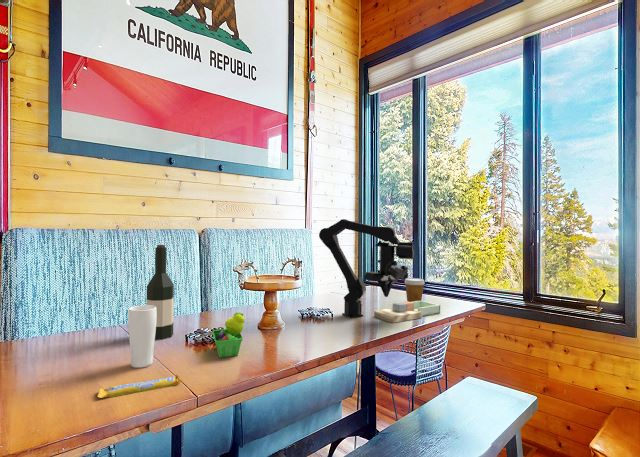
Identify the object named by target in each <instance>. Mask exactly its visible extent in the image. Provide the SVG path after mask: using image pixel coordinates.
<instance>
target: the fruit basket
mask: <svg viewBox="0 0 640 457" xmlns="http://www.w3.org/2000/svg"><path fill="white" fill-rule="evenodd" d="M245 320H246V318H245V317H244V313H242V312H241V311H238V312H235V313H234V314H233V316H231V317H230V318H228V319H226V321H225V322H224V326H225V328H222V329H214V330H212V335H213V340H214V343H215V347H216V350H217V354H218V357H219V358H227V357H235V356H239V352H240V349H241V344H242V342H243V339H244V338H243V336H242V332H243V330H244V327H245V325H244V324H245Z"/></svg>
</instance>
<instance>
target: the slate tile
mask: <svg viewBox="0 0 640 457" xmlns="http://www.w3.org/2000/svg"><path fill="white" fill-rule="evenodd" d="M401 302H402V301H400V302H398V301H397V302H393V303H392V308H393V311H396V312H405V311H407V304H404V303H401Z"/></svg>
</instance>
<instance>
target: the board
mask: <svg viewBox="0 0 640 457" xmlns="http://www.w3.org/2000/svg"><path fill="white" fill-rule="evenodd" d="M373 314H374V315H373V317H374V318H377V319H380V320H382V321H386V322H389V323H393V324H395V323H400V322H405V321H412V320H417V319H422V317H423V316H422V312H420V311H416V310H412V311H405V312H396V311H393V307H392V308H385V309H377V310H374V311H373Z"/></svg>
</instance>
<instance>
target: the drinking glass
mask: <svg viewBox="0 0 640 457" xmlns="http://www.w3.org/2000/svg"><path fill="white" fill-rule="evenodd" d="M127 314H128V315H127V328H128V339H129V340H128V342H129V351H130V352H129V353H130V366H131V367H132V368H136V369H137V368H138V369H139V368H146V367H149V366H151V365H152V364H153V363H154V354H155V352H154V351H155V341H156V340H155V333H156V323H157V309H156V306H153V305H146V304H144V305H143V304H141V305H135V306H131V307H129V308H128V313H127Z"/></svg>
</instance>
